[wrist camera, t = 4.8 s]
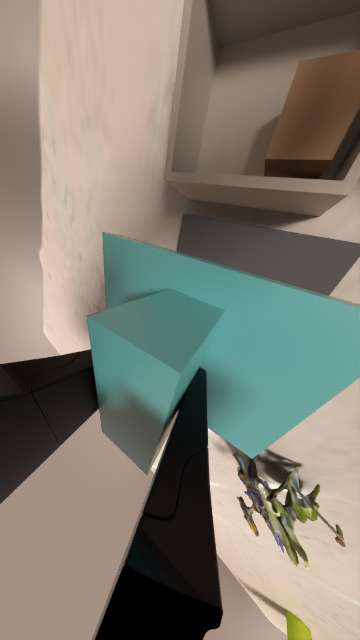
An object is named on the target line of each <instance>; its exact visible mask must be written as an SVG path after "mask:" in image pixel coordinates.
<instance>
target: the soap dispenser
mask: <svg viewBox="0 0 360 640" xmlns="http://www.w3.org/2000/svg"><path fill="white" fill-rule="evenodd" d="M286 619H287V634H288V640H312V638H311V631H310V630H309V628H308V627H307V626H306V625H305V624H304V623H303V622H302V621H301V620H300V619H298V618H297V617H296V616H295V615H293V614H292V613H290V612H288V611H286Z"/></svg>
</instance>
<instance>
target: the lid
mask: <svg viewBox="0 0 360 640" xmlns="http://www.w3.org/2000/svg"><path fill="white" fill-rule="evenodd" d="M102 234H103V254H104V273H105V293H106V310H103V311H100V312H97V313H94V314H91V315H88V316H87V322H88V330H89V337H90V345H91V352H92V360H93V367H94V375H95V382H96V390H97V397H98V405H99V411H100V420H101V427H102V432H103V433H104V434H105V435H106V436H107V437H108V438H109V439H110V440H111V441H113V443H114V444H115V445H116V446H118V447H119V448H120V449H121V450H122V451H123V452H124V453H125V454H126V455H127V456H128V457H129V458H130V459H131V460H132V461H133V462H134V463H135V464H136V465H137V466H138V467H139V468H140V469H141V470H142V471H143V472H144V473H145V474H146V475H148V473H149V471H150V469H151V467H152V465H153V463H154V461H155V459H156V457H157V456H158V454H159V452H160V450H161V448H162V446H163V444H164V442H165V440H166V438H167V437H168V435H169V433H170V431H171V429H172V427H173V424H174V421H175V419H176V416H177V413H178V411H179V408H180V406H181V403H182V401H183V398H184V396H185V393H186V391H187V388H188V386H189V384H190V382H191V380H192V379H193V377H194V375H195V374H196V372H197V370H198V369H199V367H201V368H203V369H204V370H206V372H207V416H208V428H209V429H210V430H212V431H213V432H215V433H216V434H218V435H219V436H220V437H222V438H223V439H225V440H226V441H227V442H229V443H230V444H232V445H233V446H234V447H236V448H237V449H239V450H240V451H242V452H243V453H244V454H246V455H247V456H249V457H250V458H251V459H253V458H254V457H255V456H256V455H258V454H259V453H260V452H262V451H263V450H264V449H266V448H267V447H268V446H270V445H271V444H272V443H274V442H275V441H276V440H278V439H279V438H280V437H282V436H283V435H284V434H286V433H287V432H288V431H290V430H291V429H292V428H294V427H295V426H296V425H298V424H299V423H300V422H302V421H303V420H304V419H305V418H307V417H308V416H309V415H311V414H312V413H313V412H315V411H316V410H317V409H319V408H320V407H321V406H323V405H324V404H325V403H327V402H328V401H329V400H331V399H332V398H333V397H335V396H336V395H337V394H339V393H340V392H341V391H343V390H344V389H345V388H347V387H348V386H349V385H350V384H352V383H353V382H354V381H356V380H357V379H358V378H360V305H359V304H355V303H352V302H349V301H345V300H342V299H338V298H335V297H331V296H328V295H324V294H321V293H318V292H314V291H311V290H307V289H304V288H300V287H297V286H293V285H290V284H287V283H283V282H280V281H276V280H273V279H269V278H266V277H262V276H259V275H255V274H252V273H249V272H245V271H242V270H238V269H235V268H231V267H228V266H224V265H221V264H218V263H214V262H211V261H207V260H204V259H200V258H197V257H193V256H190V255H187V254H183V253H180V252H176V251H173V250H169V249H166V248H162V247H159V246H155V245H152V244H149V243H145V242H142V241H138V240H135V239H131V238H128V237H124V236H121V235H116V234H111V233H105V232H102Z"/></svg>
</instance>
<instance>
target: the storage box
mask: <svg viewBox="0 0 360 640" xmlns="http://www.w3.org/2000/svg"><path fill="white" fill-rule="evenodd" d="M355 50H360V0H184V8H183V17H182V26H181V35H180V44H179V53H178V63H177V72H176V81H175V90H174V99H173V108H172V117H171V126H170V135H169V144H168V153H167V162H166V171H165V181H166V182H167V183H168V184H169V185H171V186H172V187H173V188H174V189H176V190H177V191H178V192H179V193H181V194H182V195H183V196H184V197H186V198H187V199H188V200H194V201H202V202H210V203H218V204H226V205H233V206H241V207H249V208H257V209H265V210H273V211H280V212H288V213H296V214H304V215H312V216H321V215H322V214H323V213H325V212H326V211H327V210H329V209H330V208H331V207H333V206H334V205H336V204H337V203H338V202H340V201H341V200H342V199H344V198H345V197H346V196H348V194H349V193H350V191H351V190H352V188H353V186H354V185H355V183H356V182H357V180H358V178H359V177H360V108H359V110H358V112H357V114H356V116H355V118H354V120H353V122H352V123H351V125H350V127H349V129H348V131H347V133H346V135H345V137H344V139H343V141H342V142H341V144H340V146H339V148H338V150H337V152H336V154H335V156H334V158H333V160H332V161H331V162H330V164H329V165H328V167H327V168H326V169H325V171H324V172H323V174H322V175H321V177H320V178H319V179H301V178H282V177H264V168H265V157H266V154H267V151H268V148H269V146H270V143H271V140H272V137H273V134H274V132H275V129H276V126H277V123H278V120H279V117H280V115H281V112H282V109H283V106H284V103H285V101H286V98H287V95H288V92H289V89H290V87H291V84H292V81H293V78H294V75H295V72H296V70H297V67H298V64H299V61H303V60H308V59H313V58H319V57H324V56H329V55H334V54H340V53H345V52H350V51H355Z"/></svg>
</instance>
